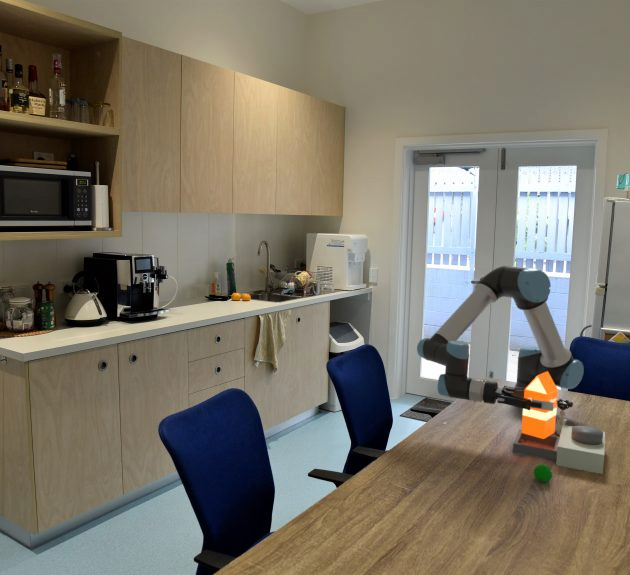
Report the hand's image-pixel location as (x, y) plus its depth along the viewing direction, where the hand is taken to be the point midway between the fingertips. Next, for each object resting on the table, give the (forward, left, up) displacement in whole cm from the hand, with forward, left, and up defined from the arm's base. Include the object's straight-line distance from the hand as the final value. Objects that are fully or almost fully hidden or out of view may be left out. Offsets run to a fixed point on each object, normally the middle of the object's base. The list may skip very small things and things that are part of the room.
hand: (554, 402), depth 193 cm
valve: (-18, +2, -17) cm, 25 cm away
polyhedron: (+25, 0, -17) cm, 30 cm away
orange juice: (0, -4, -11) cm, 12 cm away
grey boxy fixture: (0, +2, -17) cm, 17 cm away
